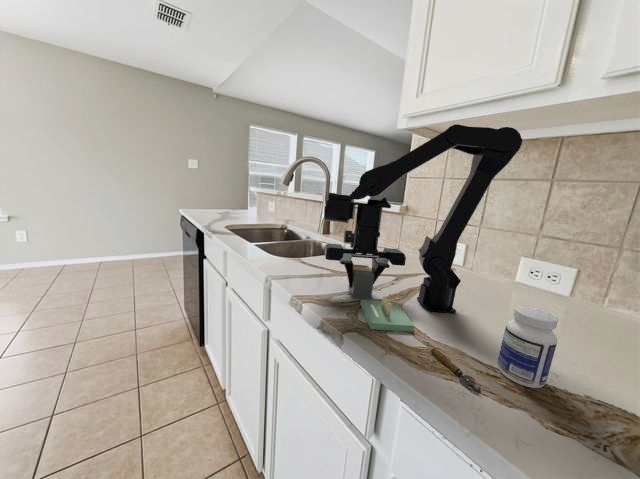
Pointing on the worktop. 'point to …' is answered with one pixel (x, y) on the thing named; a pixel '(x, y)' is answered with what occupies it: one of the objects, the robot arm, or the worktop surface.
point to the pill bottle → (528, 347)
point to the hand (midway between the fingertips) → (359, 287)
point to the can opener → (456, 371)
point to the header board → (386, 315)
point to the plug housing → (362, 282)
